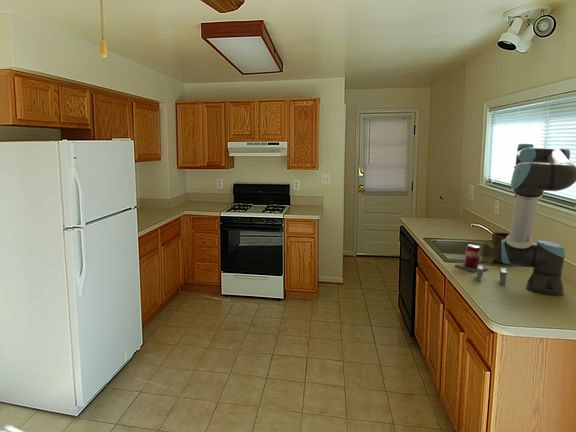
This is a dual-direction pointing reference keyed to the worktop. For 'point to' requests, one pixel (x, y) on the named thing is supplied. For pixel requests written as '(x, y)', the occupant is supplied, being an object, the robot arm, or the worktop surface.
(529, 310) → the worktop surface
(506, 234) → the plant pot
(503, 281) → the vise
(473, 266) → the soda can
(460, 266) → the rubber mat
